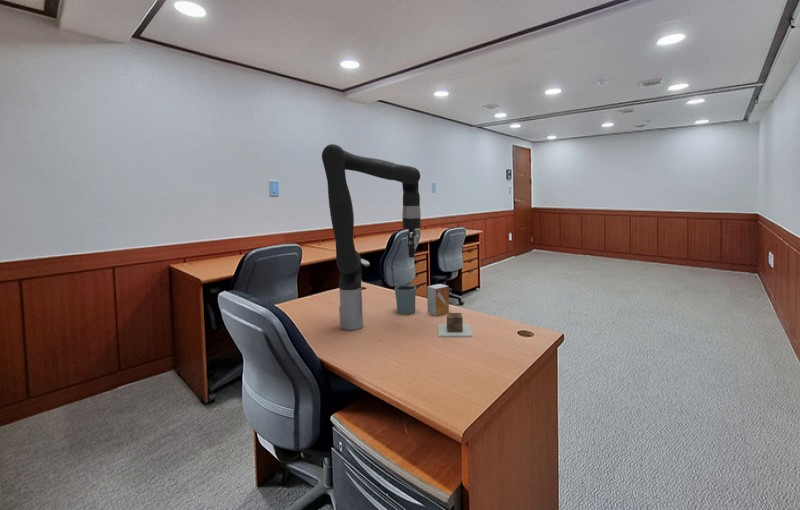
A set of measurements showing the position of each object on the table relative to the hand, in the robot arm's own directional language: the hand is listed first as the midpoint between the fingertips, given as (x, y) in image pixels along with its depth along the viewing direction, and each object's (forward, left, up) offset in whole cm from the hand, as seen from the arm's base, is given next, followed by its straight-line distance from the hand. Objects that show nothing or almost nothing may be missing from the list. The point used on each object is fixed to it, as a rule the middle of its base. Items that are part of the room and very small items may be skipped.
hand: (412, 255), depth 159 cm
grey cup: (-4, +16, -30) cm, 35 cm away
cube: (+17, -9, -29) cm, 35 cm away
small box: (+11, +14, -30) cm, 35 cm away
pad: (+17, -9, -30) cm, 35 cm away
